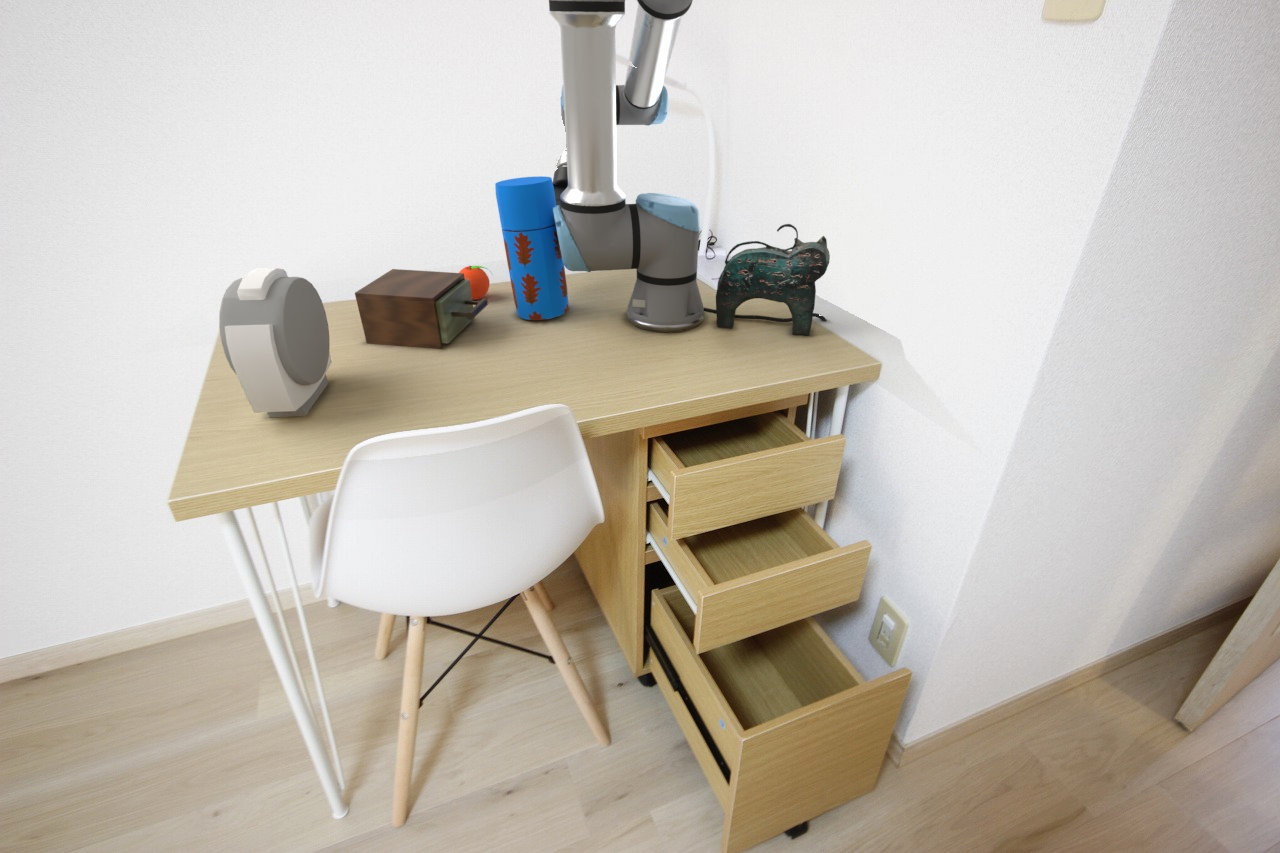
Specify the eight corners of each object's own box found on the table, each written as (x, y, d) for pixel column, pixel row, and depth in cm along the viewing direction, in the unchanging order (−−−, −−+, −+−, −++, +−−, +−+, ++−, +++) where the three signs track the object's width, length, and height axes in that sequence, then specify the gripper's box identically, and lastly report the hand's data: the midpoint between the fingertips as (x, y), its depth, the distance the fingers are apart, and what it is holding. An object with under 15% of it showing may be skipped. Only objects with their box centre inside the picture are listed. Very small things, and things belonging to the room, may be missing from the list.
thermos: (560, 320, 125) (541, 184, 113) (508, 320, 127) (484, 187, 115) (576, 302, 134) (560, 175, 122) (527, 302, 136) (507, 177, 124)
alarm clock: (293, 374, 107) (256, 253, 97) (346, 372, 108) (314, 252, 97) (246, 431, 92) (196, 295, 82) (308, 428, 93) (265, 293, 82)
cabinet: (470, 320, 127) (464, 273, 122) (441, 349, 116) (432, 298, 111) (402, 315, 130) (392, 268, 125) (366, 343, 118) (354, 292, 113)
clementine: (489, 290, 142) (485, 258, 139) (500, 299, 137) (496, 267, 134) (454, 296, 139) (449, 264, 135) (463, 306, 134) (459, 273, 130)
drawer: (495, 319, 126) (490, 280, 122) (470, 345, 115) (464, 303, 111) (410, 313, 128) (403, 275, 124) (378, 338, 118) (369, 297, 114)
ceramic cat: (818, 328, 125) (834, 223, 114) (818, 341, 119) (835, 232, 109) (716, 319, 129) (723, 216, 118) (711, 331, 123) (718, 225, 113)
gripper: (538, 163, 139) (520, 262, 133) (597, 165, 137) (581, 266, 132) (547, 184, 146) (530, 279, 141) (603, 186, 144) (588, 283, 139)
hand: (555, 273), depth 136 cm, fingers closed
